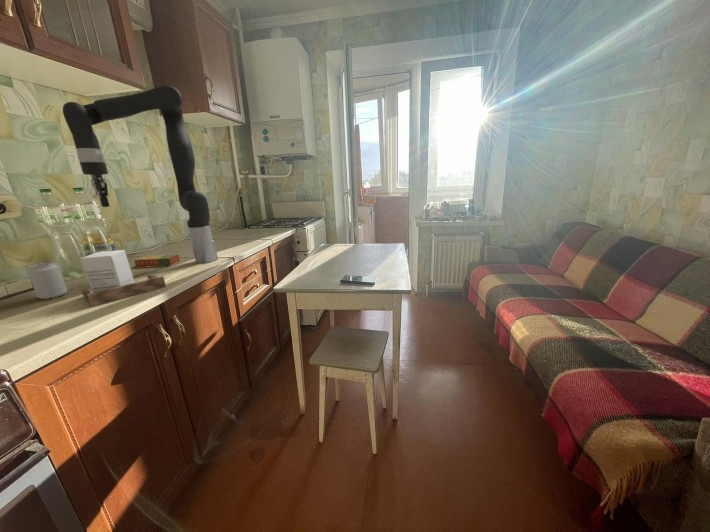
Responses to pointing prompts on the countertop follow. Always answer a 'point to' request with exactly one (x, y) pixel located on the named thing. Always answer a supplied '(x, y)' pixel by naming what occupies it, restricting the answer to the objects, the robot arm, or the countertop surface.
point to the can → (47, 280)
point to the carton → (156, 260)
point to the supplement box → (107, 270)
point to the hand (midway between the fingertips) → (105, 206)
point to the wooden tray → (124, 290)
